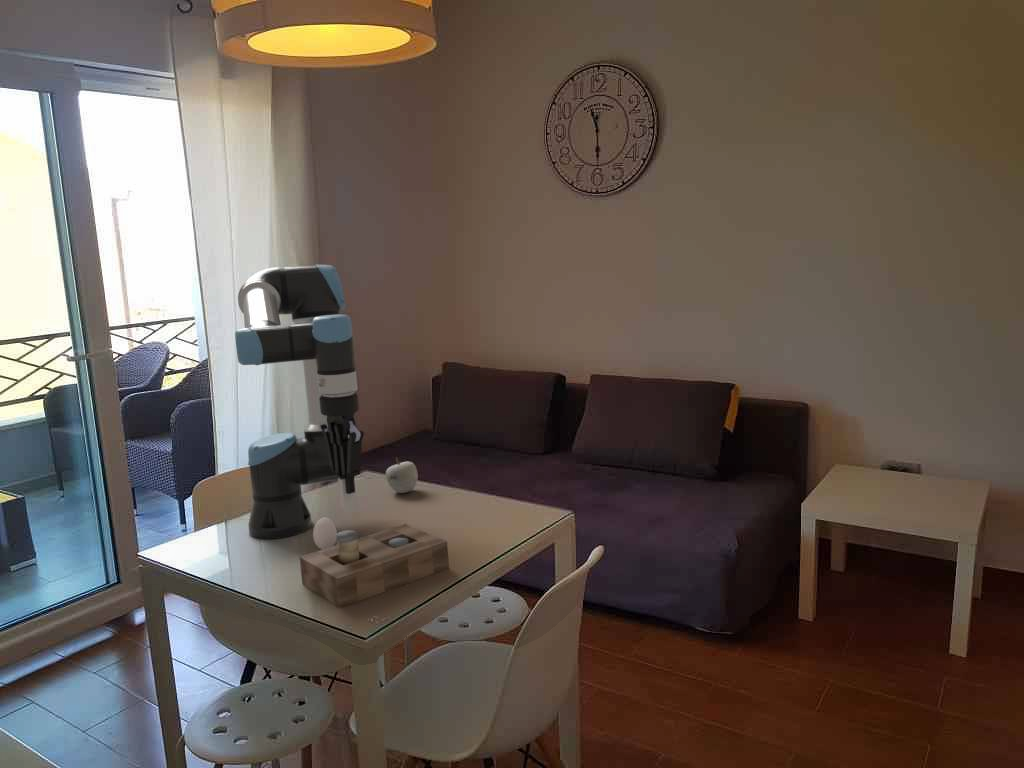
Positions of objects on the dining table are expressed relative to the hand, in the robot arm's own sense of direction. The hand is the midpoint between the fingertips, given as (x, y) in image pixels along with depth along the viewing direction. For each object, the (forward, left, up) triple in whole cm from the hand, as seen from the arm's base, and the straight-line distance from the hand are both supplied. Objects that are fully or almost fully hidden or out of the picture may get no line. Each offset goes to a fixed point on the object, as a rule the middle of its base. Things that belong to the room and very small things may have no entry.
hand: (348, 507), depth 166 cm
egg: (-22, +5, -17) cm, 28 cm away
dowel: (0, -1, -11) cm, 11 cm away
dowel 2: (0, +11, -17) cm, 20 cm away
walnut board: (0, +5, -16) cm, 17 cm away
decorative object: (-45, +41, -17) cm, 63 cm away
